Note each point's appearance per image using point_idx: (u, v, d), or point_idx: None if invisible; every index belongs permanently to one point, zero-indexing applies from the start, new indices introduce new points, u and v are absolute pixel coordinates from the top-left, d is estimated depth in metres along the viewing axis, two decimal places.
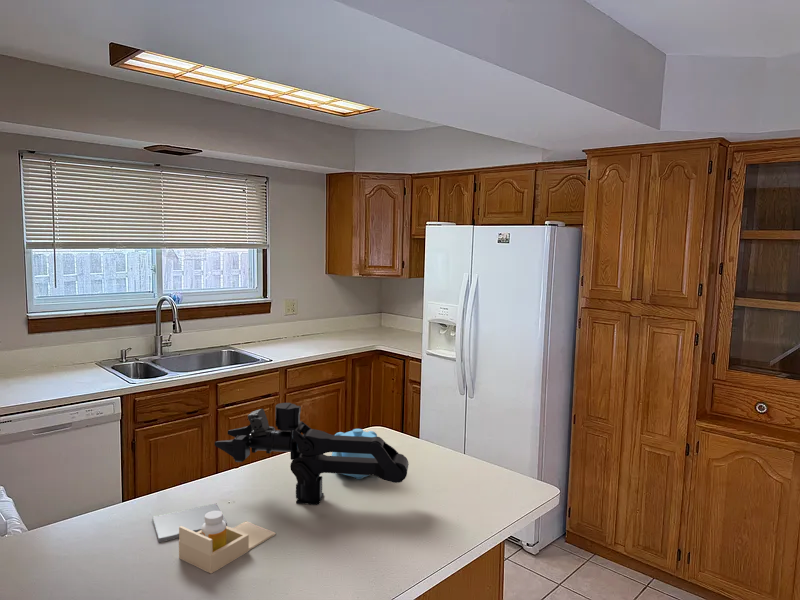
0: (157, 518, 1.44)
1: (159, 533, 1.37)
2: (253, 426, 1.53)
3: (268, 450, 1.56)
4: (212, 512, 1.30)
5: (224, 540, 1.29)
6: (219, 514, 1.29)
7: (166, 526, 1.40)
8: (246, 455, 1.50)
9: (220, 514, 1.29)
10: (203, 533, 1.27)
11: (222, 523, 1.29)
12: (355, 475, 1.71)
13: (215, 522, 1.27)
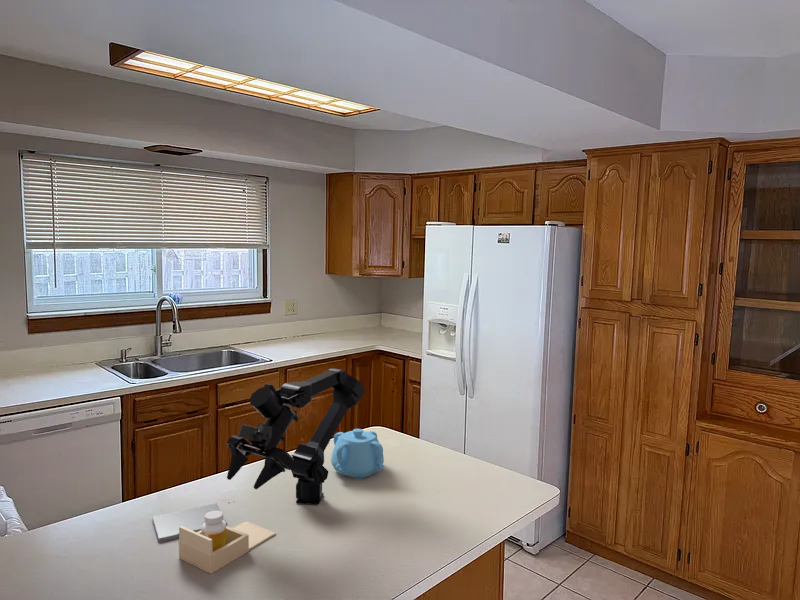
0: (157, 518, 1.44)
1: (159, 533, 1.37)
2: (266, 436, 1.36)
3: (282, 437, 1.44)
4: (212, 512, 1.30)
5: (224, 540, 1.29)
6: (219, 514, 1.29)
7: (166, 526, 1.40)
8: None
9: (220, 514, 1.29)
10: (203, 533, 1.27)
11: (222, 523, 1.29)
12: (355, 475, 1.71)
13: (215, 522, 1.27)
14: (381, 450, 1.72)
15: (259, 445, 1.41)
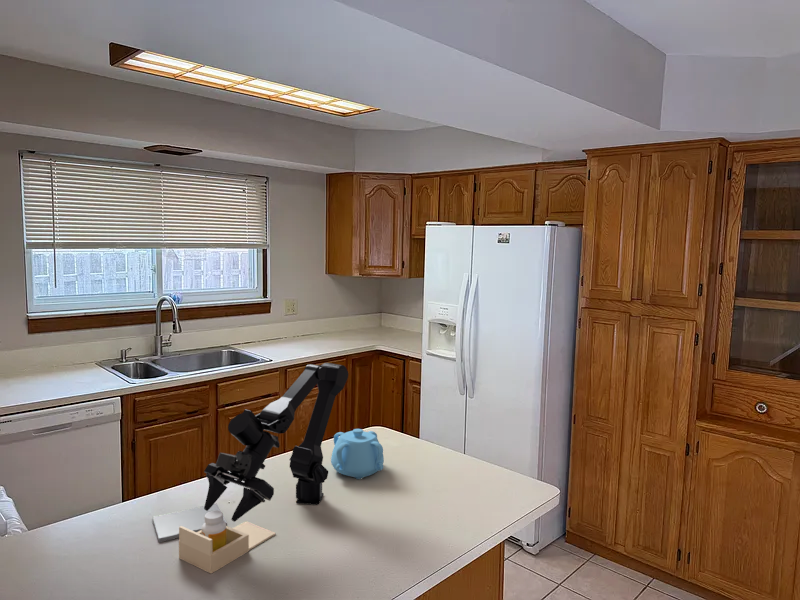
0: (157, 518, 1.44)
1: (159, 533, 1.37)
2: (244, 466, 1.30)
3: (263, 465, 1.38)
4: (212, 512, 1.30)
5: (224, 540, 1.29)
6: (219, 514, 1.29)
7: (166, 526, 1.40)
8: None
9: (220, 514, 1.29)
10: (203, 533, 1.27)
11: (222, 523, 1.29)
12: (355, 475, 1.71)
13: (215, 522, 1.27)
14: (381, 450, 1.72)
15: (238, 474, 1.36)
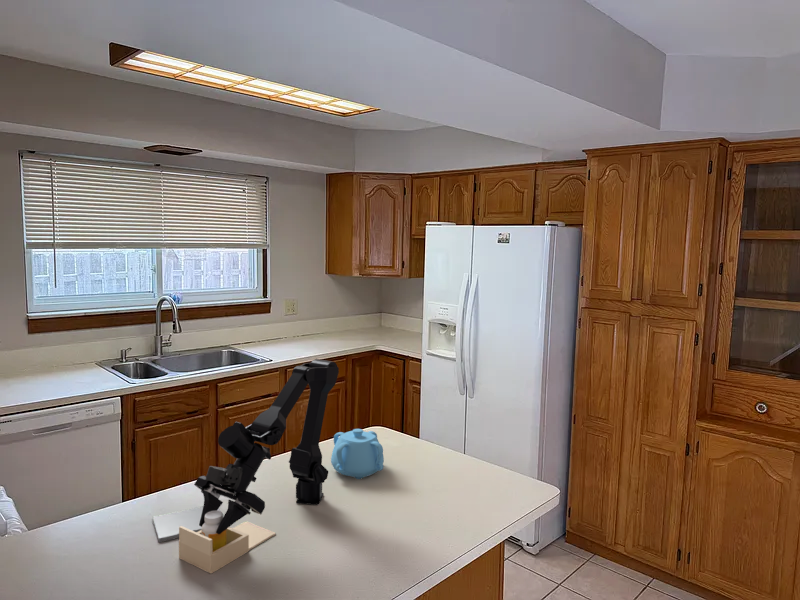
0: (157, 518, 1.44)
1: (159, 533, 1.37)
2: (235, 480, 1.28)
3: (254, 478, 1.36)
4: (212, 512, 1.30)
5: (224, 540, 1.29)
6: (219, 514, 1.29)
7: (166, 526, 1.40)
8: None
9: (220, 514, 1.29)
10: (203, 533, 1.27)
11: None
12: (355, 475, 1.71)
13: (215, 522, 1.27)
14: (381, 450, 1.72)
15: None
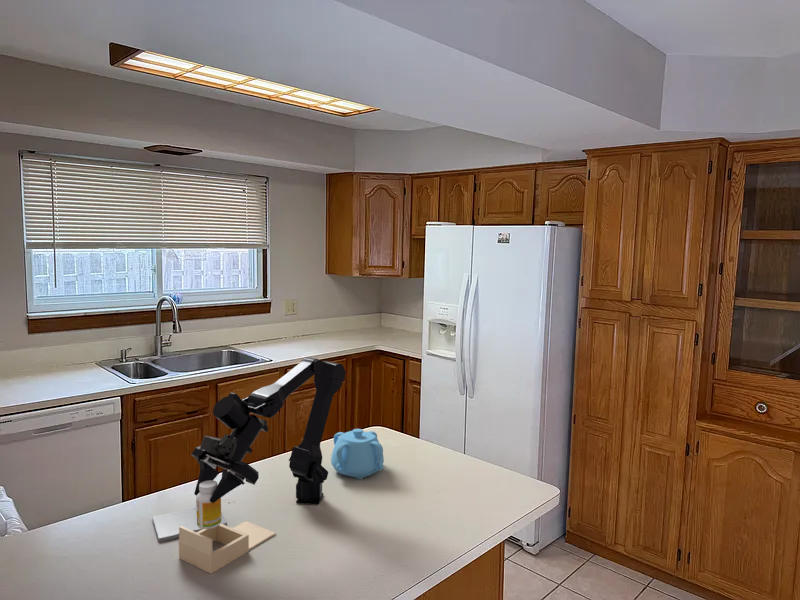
0: (157, 518, 1.44)
1: (159, 533, 1.37)
2: (228, 449, 1.28)
3: (249, 449, 1.36)
4: (207, 482, 1.31)
5: (218, 509, 1.30)
6: (213, 483, 1.30)
7: (166, 526, 1.40)
8: None
9: (214, 483, 1.30)
10: (197, 502, 1.28)
11: None
12: (355, 475, 1.71)
13: (209, 491, 1.28)
14: (381, 450, 1.72)
15: None
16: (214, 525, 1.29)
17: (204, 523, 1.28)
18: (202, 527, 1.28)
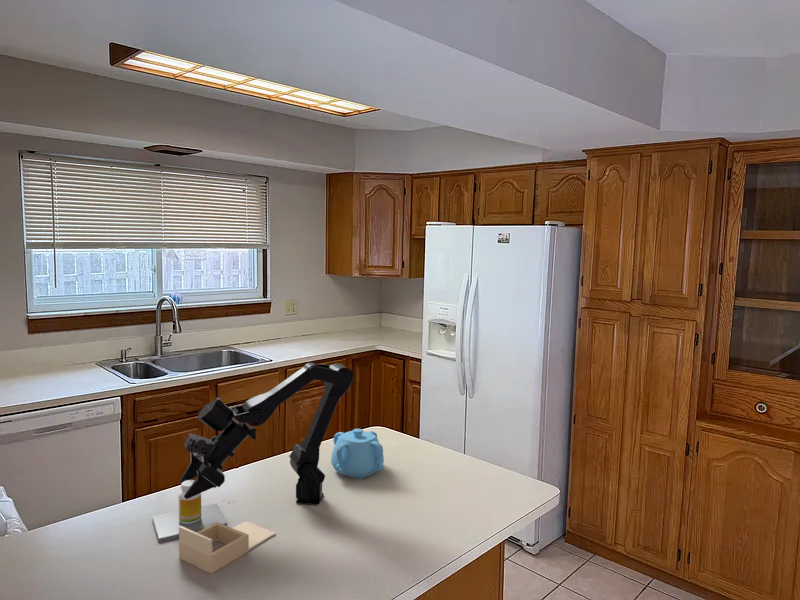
0: (157, 518, 1.44)
1: (159, 533, 1.37)
2: (201, 449, 1.39)
3: (231, 453, 1.45)
4: (191, 481, 1.44)
5: (194, 508, 1.42)
6: None
7: (166, 526, 1.40)
8: (222, 473, 1.38)
9: None
10: (178, 497, 1.42)
11: None
12: (355, 475, 1.71)
13: (186, 490, 1.41)
14: (381, 450, 1.72)
15: None
16: (189, 521, 1.41)
17: (181, 517, 1.41)
18: (180, 521, 1.42)
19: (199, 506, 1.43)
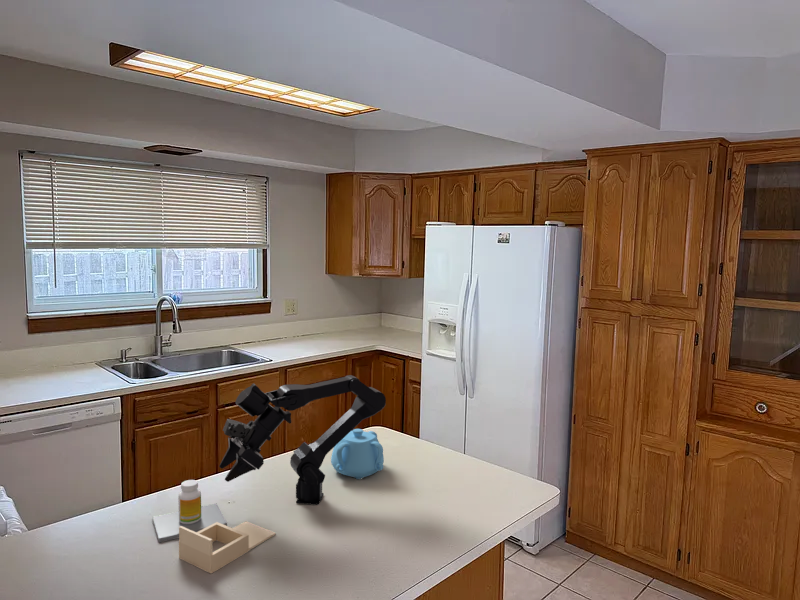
0: (157, 518, 1.44)
1: (159, 533, 1.37)
2: (239, 433, 1.43)
3: (268, 437, 1.49)
4: (191, 481, 1.44)
5: (194, 508, 1.42)
6: (193, 484, 1.42)
7: (166, 526, 1.40)
8: (260, 456, 1.42)
9: (193, 484, 1.42)
10: (178, 497, 1.42)
11: (194, 492, 1.42)
12: (355, 475, 1.71)
13: (186, 490, 1.41)
14: (381, 450, 1.72)
15: None
16: (189, 522, 1.41)
17: (181, 517, 1.41)
18: (180, 521, 1.42)
19: (199, 506, 1.43)
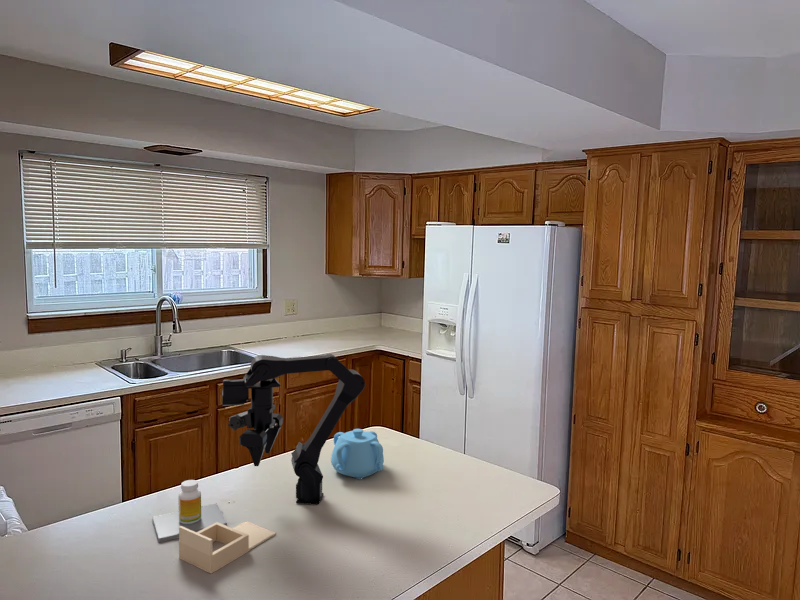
0: (157, 518, 1.44)
1: (159, 533, 1.37)
2: (237, 424, 1.48)
3: (266, 411, 1.49)
4: (191, 481, 1.44)
5: (194, 508, 1.42)
6: (193, 484, 1.42)
7: (166, 526, 1.40)
8: (257, 433, 1.44)
9: (193, 484, 1.42)
10: (178, 497, 1.42)
11: (194, 492, 1.42)
12: (355, 475, 1.71)
13: (186, 490, 1.41)
14: (381, 450, 1.72)
15: None
16: (189, 521, 1.41)
17: (181, 517, 1.41)
18: (180, 521, 1.42)
19: (199, 506, 1.43)
